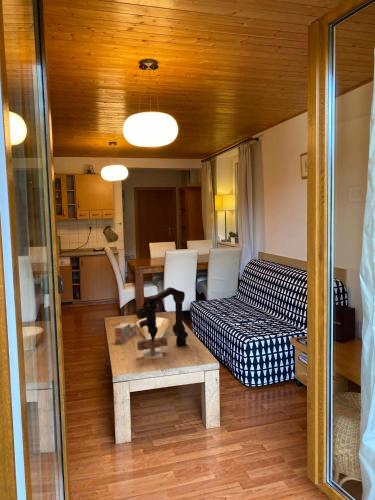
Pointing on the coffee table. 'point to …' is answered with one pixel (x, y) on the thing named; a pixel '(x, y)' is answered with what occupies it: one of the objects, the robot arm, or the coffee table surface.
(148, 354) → the fulcrum
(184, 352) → the coffee table surface
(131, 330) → the stack of blocks
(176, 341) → the robot arm
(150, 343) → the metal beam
